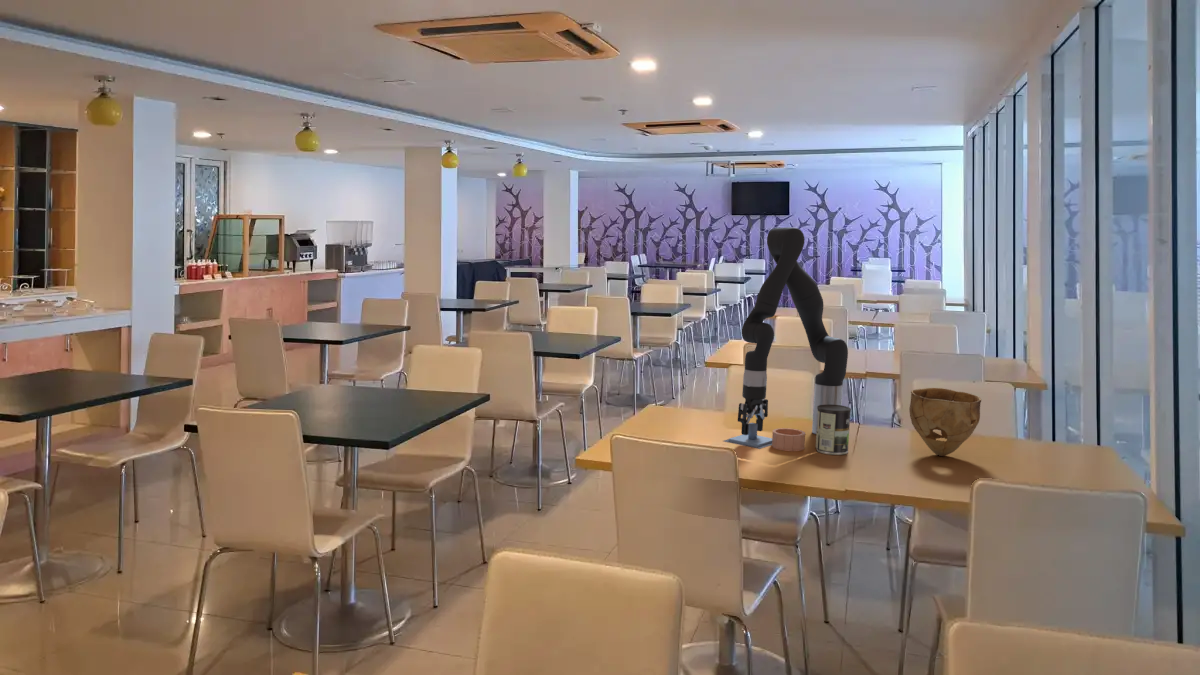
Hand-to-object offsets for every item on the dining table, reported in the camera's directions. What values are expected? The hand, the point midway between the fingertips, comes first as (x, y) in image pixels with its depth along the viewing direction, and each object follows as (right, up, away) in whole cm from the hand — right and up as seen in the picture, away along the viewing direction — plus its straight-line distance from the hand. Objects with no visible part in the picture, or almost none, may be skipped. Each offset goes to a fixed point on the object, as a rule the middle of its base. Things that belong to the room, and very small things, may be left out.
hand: (751, 432), depth 302 cm
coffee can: (+24, -5, -7) cm, 26 cm away
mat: (0, -3, 0) cm, 3 cm away
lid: (0, -3, 0) cm, 3 cm away
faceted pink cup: (+10, -5, -6) cm, 13 cm away
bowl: (+58, -7, -10) cm, 59 cm away
